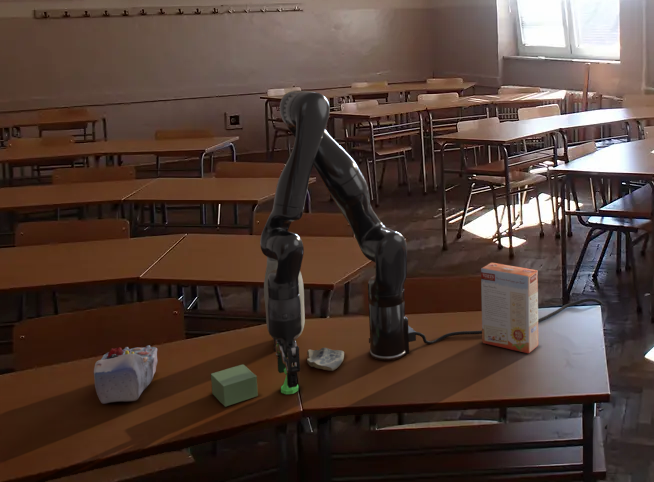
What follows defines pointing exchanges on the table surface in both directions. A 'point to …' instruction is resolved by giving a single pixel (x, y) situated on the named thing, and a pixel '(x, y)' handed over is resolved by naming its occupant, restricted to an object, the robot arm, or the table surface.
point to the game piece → (286, 389)
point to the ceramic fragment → (325, 358)
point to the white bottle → (270, 267)
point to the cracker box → (509, 307)
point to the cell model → (124, 373)
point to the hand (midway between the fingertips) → (287, 379)
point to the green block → (234, 385)
